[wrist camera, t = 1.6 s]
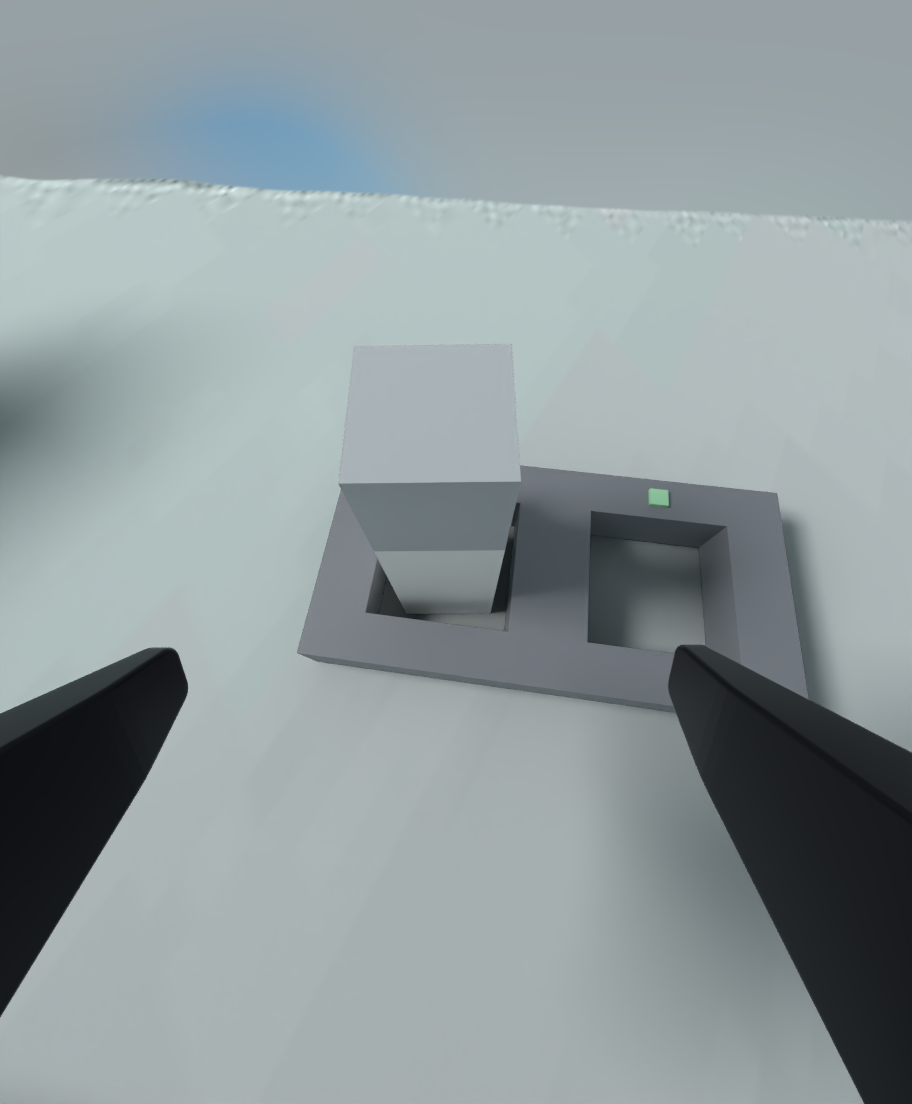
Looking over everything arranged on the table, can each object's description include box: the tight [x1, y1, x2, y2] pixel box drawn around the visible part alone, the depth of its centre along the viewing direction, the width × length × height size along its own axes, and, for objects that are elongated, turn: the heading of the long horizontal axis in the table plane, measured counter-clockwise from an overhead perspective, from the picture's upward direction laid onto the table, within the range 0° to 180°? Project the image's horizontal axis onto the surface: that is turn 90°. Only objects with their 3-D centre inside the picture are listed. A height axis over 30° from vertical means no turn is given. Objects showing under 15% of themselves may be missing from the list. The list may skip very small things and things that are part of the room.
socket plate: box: [297, 466, 809, 712], centre depth 20 cm, size 10×20×3 cm, turn 82°
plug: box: [338, 344, 521, 614], centre depth 16 cm, size 5×4×12 cm
